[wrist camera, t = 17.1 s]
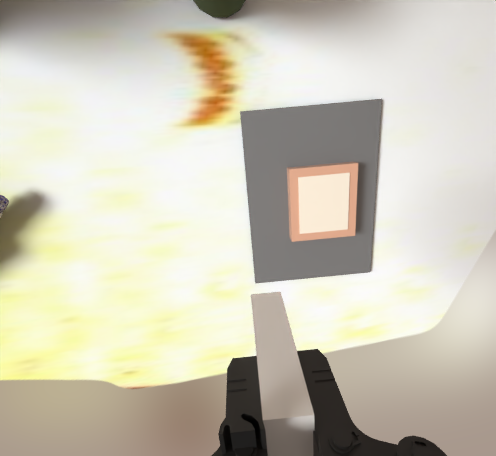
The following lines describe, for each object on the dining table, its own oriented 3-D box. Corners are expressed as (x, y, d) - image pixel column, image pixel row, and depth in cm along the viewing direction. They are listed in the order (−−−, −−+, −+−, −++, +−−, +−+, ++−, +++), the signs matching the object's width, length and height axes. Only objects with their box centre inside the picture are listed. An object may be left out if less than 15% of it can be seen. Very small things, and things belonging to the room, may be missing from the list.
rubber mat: (240, 111, 32) (240, 111, 32) (380, 99, 32) (381, 98, 32) (255, 281, 39) (255, 283, 39) (369, 270, 40) (370, 272, 39)
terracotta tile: (289, 169, 32) (358, 163, 32) (286, 167, 34) (352, 161, 34) (292, 242, 35) (355, 236, 35) (289, 237, 37) (350, 231, 37)
